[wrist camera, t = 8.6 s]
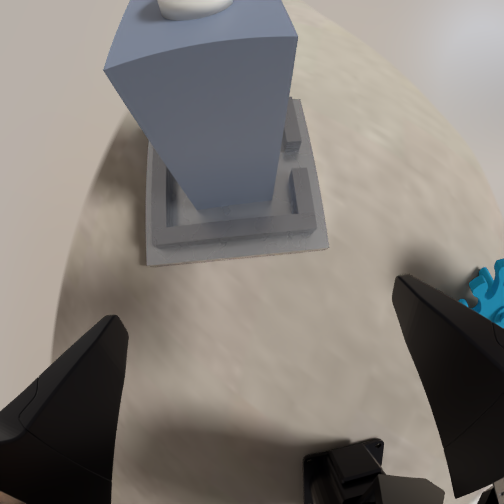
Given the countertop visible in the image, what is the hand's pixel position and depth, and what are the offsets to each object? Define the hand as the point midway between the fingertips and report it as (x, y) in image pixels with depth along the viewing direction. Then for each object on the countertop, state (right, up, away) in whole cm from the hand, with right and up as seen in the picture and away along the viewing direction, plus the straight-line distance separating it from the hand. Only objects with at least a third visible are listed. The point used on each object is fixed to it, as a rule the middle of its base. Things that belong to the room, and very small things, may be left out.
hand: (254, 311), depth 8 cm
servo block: (-2, +7, +10) cm, 13 cm away
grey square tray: (-2, +7, +11) cm, 13 cm away
